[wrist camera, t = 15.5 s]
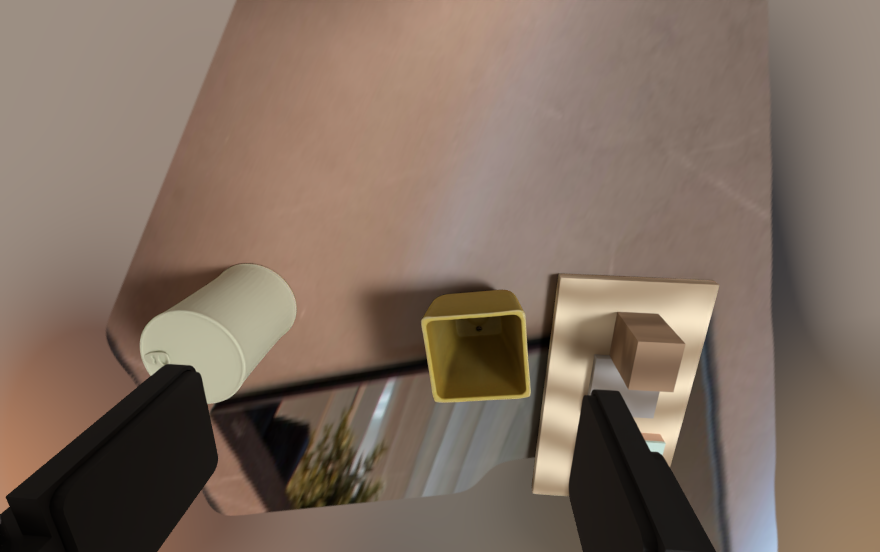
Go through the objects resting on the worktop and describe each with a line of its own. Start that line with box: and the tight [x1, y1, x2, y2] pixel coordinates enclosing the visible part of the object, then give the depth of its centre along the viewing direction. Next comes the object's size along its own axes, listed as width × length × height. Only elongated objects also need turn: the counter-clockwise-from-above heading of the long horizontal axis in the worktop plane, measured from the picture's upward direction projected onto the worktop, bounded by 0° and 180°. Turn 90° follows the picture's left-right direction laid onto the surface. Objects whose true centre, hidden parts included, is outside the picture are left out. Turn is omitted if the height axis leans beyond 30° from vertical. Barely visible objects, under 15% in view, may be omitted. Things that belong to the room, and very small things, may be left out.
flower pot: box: [421, 290, 531, 403], centre depth 42 cm, size 9×9×9 cm
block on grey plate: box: [588, 312, 686, 419], centre depth 43 cm, size 12×7×6 cm, turn 178°
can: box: [140, 264, 296, 404], centre depth 42 cm, size 9×9×12 cm
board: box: [532, 274, 719, 496], centre depth 48 cm, size 28×15×1 cm, turn 178°
